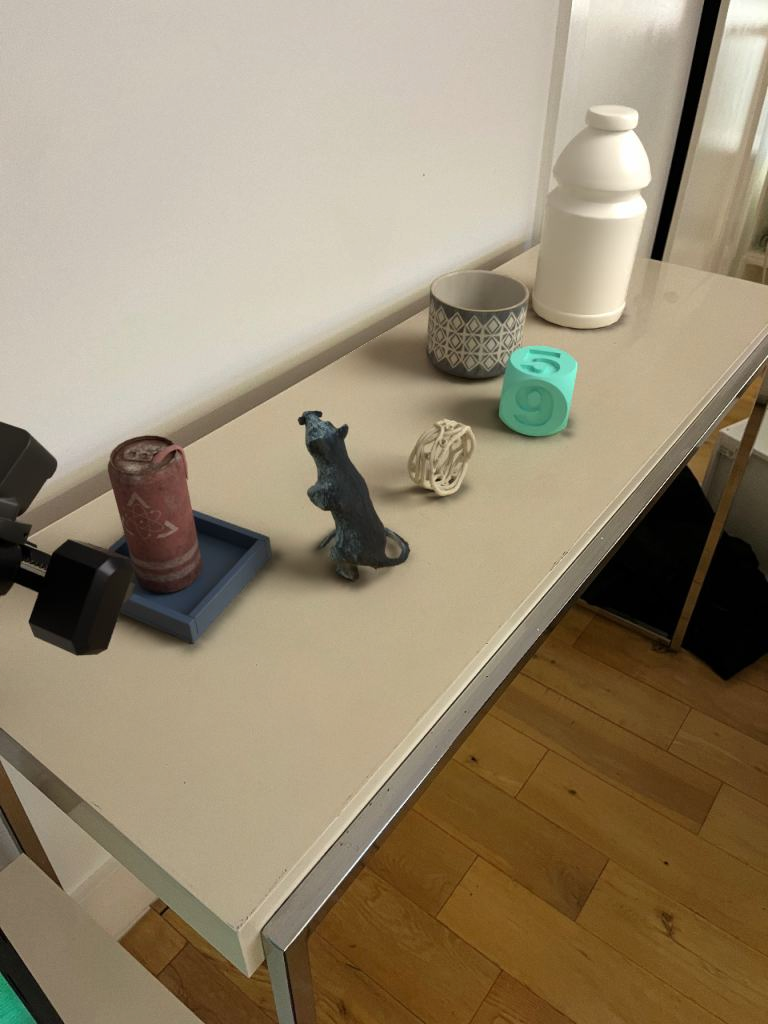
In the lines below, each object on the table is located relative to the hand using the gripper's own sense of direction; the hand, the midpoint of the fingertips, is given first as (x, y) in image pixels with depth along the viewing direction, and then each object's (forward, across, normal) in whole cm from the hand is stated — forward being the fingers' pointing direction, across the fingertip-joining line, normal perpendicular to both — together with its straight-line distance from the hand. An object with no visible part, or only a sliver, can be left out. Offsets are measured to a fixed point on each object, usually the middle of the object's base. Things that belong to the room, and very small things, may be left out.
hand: (81, 570), depth 57 cm
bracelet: (+34, -15, -17) cm, 41 cm away
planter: (+53, -8, -36) cm, 65 cm away
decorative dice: (+46, -20, -29) cm, 58 cm away
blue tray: (+17, +2, 0) cm, 17 cm away
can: (+16, +3, 0) cm, 17 cm away
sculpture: (+24, -11, -7) cm, 28 cm away
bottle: (+69, -17, -52) cm, 88 cm away
